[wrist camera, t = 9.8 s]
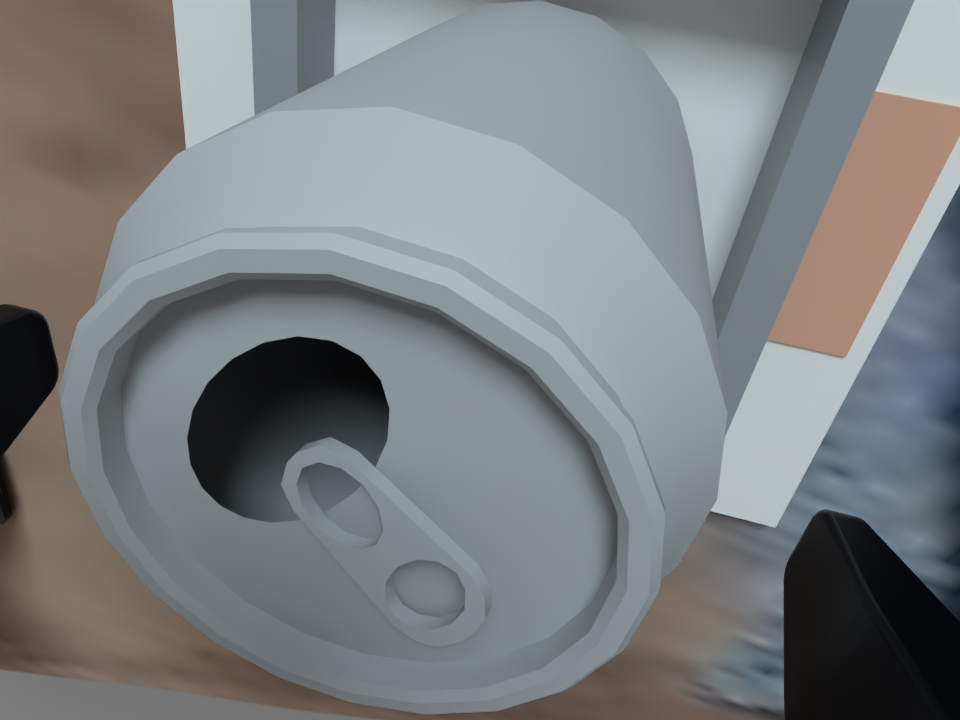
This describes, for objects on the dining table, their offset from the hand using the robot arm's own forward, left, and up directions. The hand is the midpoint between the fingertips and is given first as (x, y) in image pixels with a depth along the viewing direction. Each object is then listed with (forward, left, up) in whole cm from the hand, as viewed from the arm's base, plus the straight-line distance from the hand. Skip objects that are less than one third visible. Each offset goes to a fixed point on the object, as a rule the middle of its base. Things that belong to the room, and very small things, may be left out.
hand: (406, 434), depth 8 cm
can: (0, 0, -11) cm, 11 cm away
